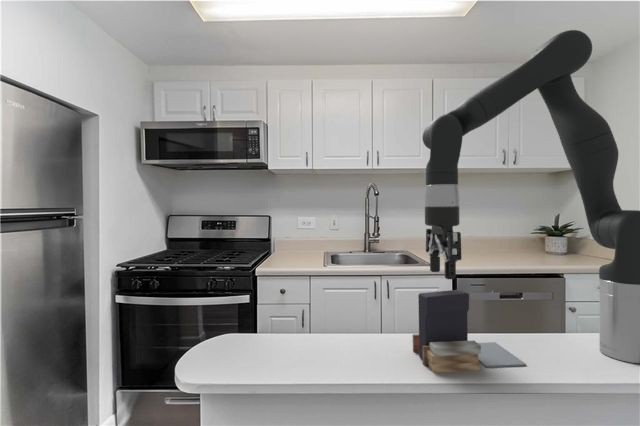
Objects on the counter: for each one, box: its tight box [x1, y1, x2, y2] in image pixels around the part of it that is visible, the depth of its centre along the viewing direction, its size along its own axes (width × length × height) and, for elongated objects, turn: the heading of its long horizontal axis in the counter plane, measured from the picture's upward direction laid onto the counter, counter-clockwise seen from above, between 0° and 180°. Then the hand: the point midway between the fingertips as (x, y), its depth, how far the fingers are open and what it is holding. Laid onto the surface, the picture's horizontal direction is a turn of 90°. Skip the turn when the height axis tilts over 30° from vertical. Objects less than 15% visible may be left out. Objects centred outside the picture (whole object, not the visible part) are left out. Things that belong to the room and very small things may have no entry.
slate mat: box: [477, 341, 527, 368], centre depth 79 cm, size 9×12×1 cm
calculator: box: [417, 289, 470, 360], centre depth 78 cm, size 11×4×15 cm, turn 105°
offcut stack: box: [427, 340, 481, 373], centre depth 73 cm, size 11×3×5 cm, turn 93°
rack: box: [412, 333, 430, 366], centre depth 79 cm, size 12×8×4 cm, turn 93°
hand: (442, 275), depth 78 cm, fingers open, 8 cm apart
